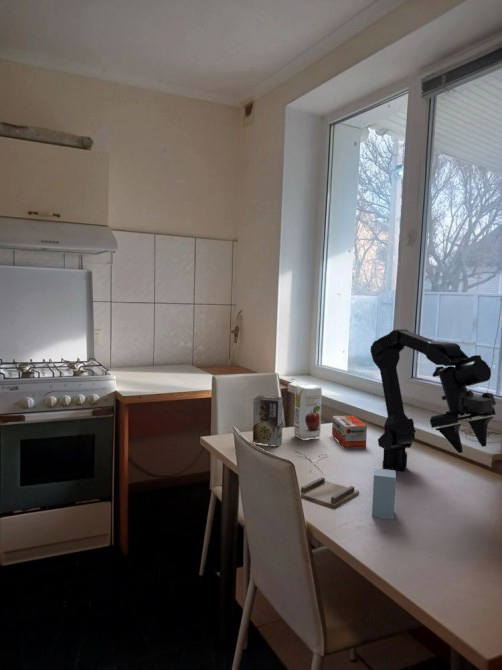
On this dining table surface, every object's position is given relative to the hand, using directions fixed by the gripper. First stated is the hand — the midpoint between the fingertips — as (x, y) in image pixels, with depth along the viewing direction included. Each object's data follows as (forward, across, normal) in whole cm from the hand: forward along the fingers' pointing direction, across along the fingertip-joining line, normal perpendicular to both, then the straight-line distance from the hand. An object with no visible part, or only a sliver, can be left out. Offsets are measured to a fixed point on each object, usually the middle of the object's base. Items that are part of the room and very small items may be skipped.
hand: (472, 449), depth 129 cm
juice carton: (-12, -5, +65) cm, 66 cm away
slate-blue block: (+10, -26, +9) cm, 29 cm away
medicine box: (-7, +6, +55) cm, 56 cm away
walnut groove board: (+4, -31, +23) cm, 39 cm away
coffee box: (-12, -22, +64) cm, 69 cm away
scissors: (-3, -19, +44) cm, 48 cm away
